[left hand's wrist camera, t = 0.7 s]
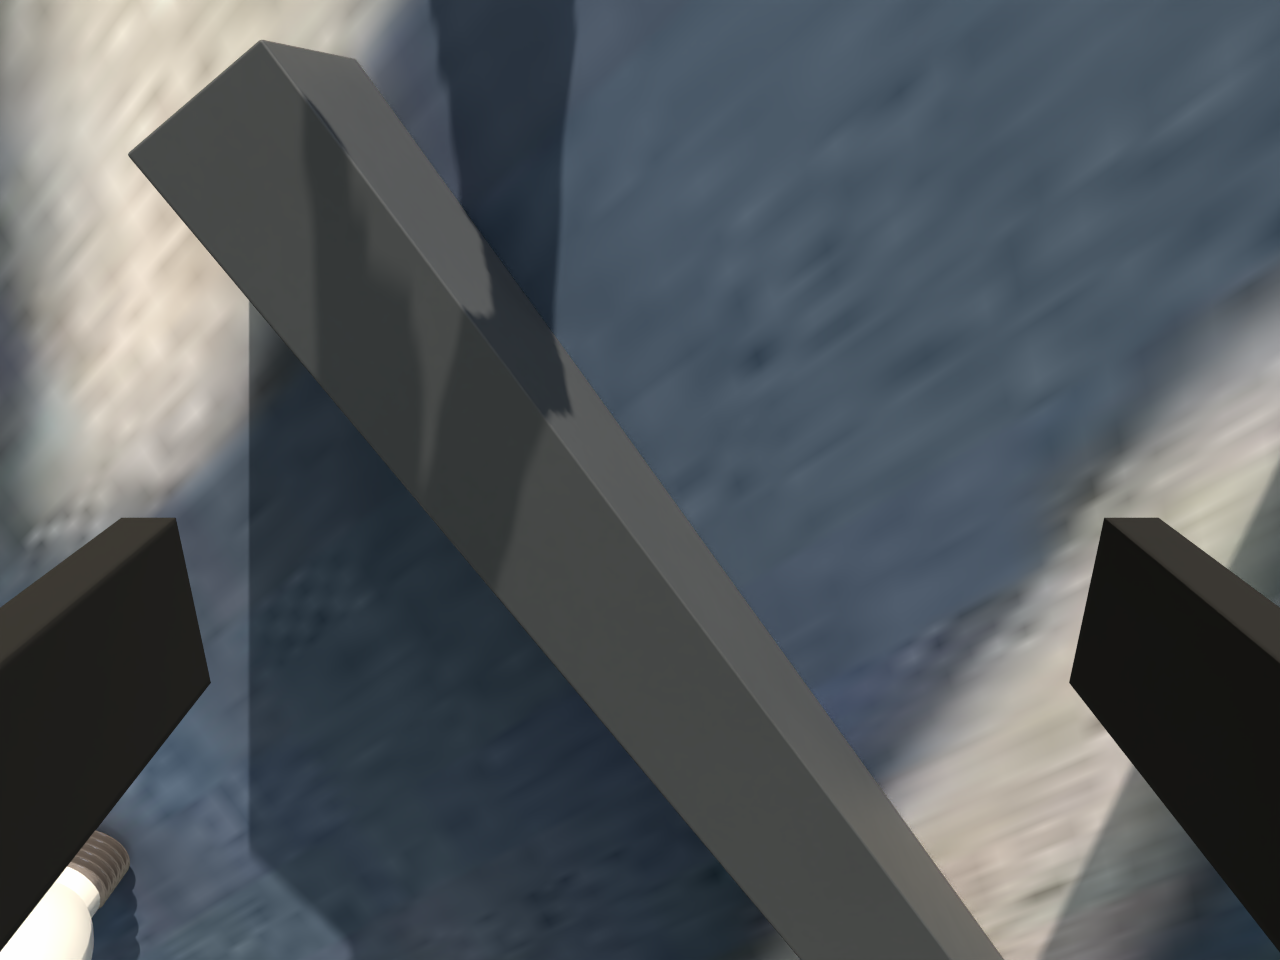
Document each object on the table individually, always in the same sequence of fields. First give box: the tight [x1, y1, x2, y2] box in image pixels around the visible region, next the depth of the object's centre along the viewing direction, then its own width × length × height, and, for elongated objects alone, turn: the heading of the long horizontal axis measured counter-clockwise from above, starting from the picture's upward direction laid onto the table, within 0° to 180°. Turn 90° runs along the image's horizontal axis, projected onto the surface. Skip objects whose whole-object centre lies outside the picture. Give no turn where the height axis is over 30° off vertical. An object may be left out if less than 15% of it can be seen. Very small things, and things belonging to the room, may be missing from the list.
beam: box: [128, 40, 1004, 960], centre depth 35 cm, size 56×5×8 cm, turn 34°
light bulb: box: [0, 831, 130, 960], centre depth 38 cm, size 7×7×11 cm
